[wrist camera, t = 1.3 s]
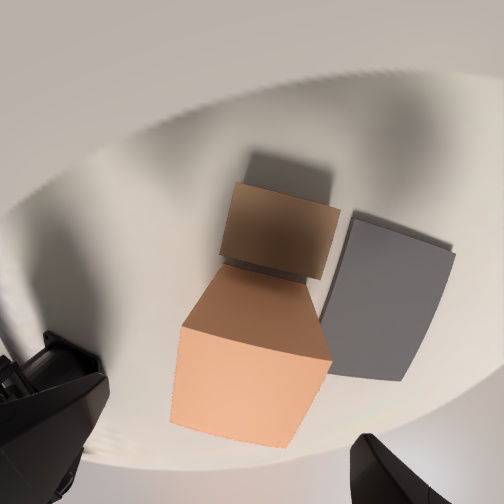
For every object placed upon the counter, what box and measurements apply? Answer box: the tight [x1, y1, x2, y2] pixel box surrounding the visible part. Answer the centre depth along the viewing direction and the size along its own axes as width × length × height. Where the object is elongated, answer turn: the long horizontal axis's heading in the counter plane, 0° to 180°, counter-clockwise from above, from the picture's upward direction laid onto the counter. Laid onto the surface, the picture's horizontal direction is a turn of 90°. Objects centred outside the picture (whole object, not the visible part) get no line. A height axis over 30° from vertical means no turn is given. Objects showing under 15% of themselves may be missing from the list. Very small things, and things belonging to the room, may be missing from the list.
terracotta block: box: [170, 264, 333, 449], centre depth 13 cm, size 5×5×8 cm
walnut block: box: [219, 182, 341, 280], centre depth 14 cm, size 5×4×3 cm
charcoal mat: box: [319, 218, 456, 381], centre depth 16 cm, size 8×10×1 cm
